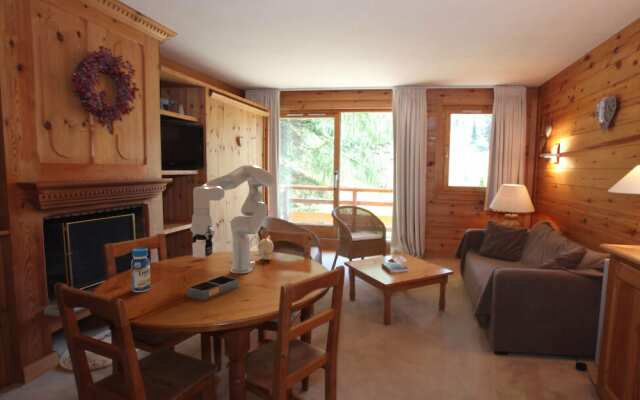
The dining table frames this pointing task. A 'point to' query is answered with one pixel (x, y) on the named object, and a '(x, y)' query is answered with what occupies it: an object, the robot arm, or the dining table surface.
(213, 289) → the rack
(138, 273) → the beverage bottle
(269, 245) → the kitten
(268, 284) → the dining table surface
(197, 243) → the medicine bottle
